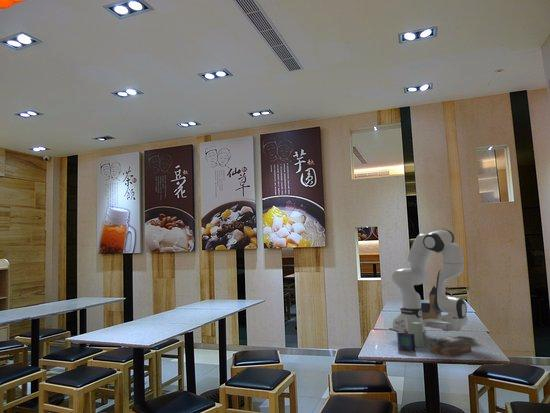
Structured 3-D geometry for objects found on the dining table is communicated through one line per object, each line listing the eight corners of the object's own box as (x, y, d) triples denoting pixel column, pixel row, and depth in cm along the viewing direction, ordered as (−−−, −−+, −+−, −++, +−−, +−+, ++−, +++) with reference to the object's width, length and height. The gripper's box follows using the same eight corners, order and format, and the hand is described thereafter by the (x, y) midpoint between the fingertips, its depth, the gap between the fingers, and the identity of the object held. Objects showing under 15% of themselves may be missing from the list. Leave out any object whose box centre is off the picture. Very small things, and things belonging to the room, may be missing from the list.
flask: (397, 349, 212) (395, 328, 213) (399, 348, 214) (398, 327, 215) (414, 352, 206) (412, 330, 207) (416, 351, 208) (415, 329, 209)
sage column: (412, 345, 219) (411, 322, 220) (417, 344, 221) (415, 322, 222) (419, 347, 216) (417, 323, 217) (423, 345, 218) (422, 322, 219)
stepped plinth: (430, 352, 205) (430, 339, 206) (449, 346, 214) (448, 334, 215) (452, 356, 195) (451, 343, 196) (471, 351, 204) (470, 338, 205)
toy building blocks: (441, 320, 285) (439, 284, 287) (437, 325, 269) (435, 287, 271) (423, 319, 291) (420, 284, 294) (418, 324, 275) (415, 287, 277)
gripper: (430, 315, 242) (415, 318, 234) (462, 318, 225) (447, 322, 218) (431, 326, 241) (416, 329, 234) (463, 330, 224) (448, 334, 217)
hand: (431, 326), depth 225 cm, fingers open, 8 cm apart
